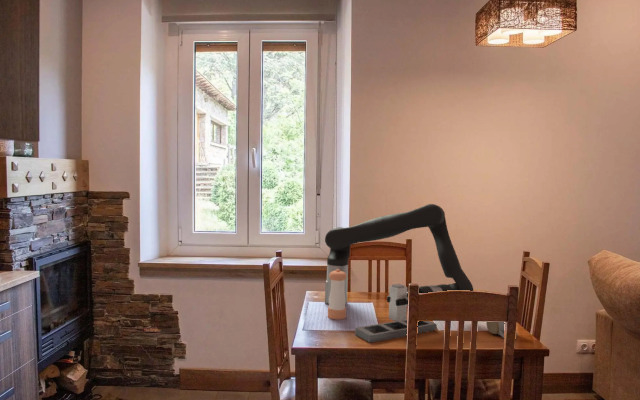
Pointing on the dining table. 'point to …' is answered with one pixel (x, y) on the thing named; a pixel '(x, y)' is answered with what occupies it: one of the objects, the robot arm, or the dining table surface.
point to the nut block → (395, 293)
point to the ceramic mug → (496, 328)
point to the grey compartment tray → (390, 330)
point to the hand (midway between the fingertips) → (392, 301)
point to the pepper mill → (337, 295)
